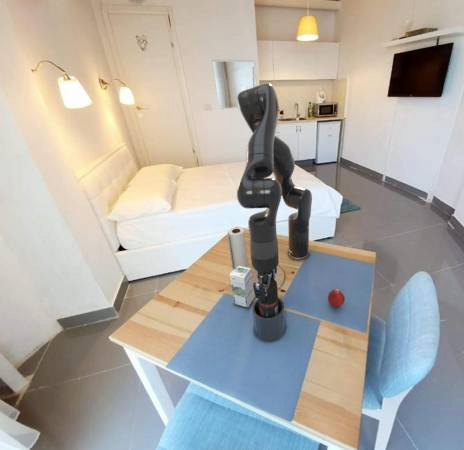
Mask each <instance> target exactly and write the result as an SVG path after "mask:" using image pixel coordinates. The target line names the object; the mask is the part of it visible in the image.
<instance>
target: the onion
mask: <svg viewBox="0 0 464 450" xmlns="http://www.w3.org/2000/svg"><path fill="white" fill-rule="evenodd" d="M345 299H346V298H345V295H344V293H343V292H342V291H341V290H340V289H339V288H336V289H333V290H331V291H330V292H329V293H328V295H327V302H328V304H329V305H330V306H331V307H333V308H340V307H342V306H343V305H344V304H345Z"/></svg>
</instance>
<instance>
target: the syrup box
mask: <svg viewBox="0 0 464 450" xmlns="http://www.w3.org/2000/svg"><path fill="white" fill-rule="evenodd" d="M252 274H253V273H252V268H251V267H248V268H247V267H242V266H238V265H237V266H236V267H235V268H234V269H233V270H231V272H230V273H229V279H230V285H231V292H232V296H233V303H234V305H237V306H240V307H243V308H249V307H250V305H251V304H252V302H253V300H254V299H255V293H254V288H253V283H254V282H253V275H252Z"/></svg>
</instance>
